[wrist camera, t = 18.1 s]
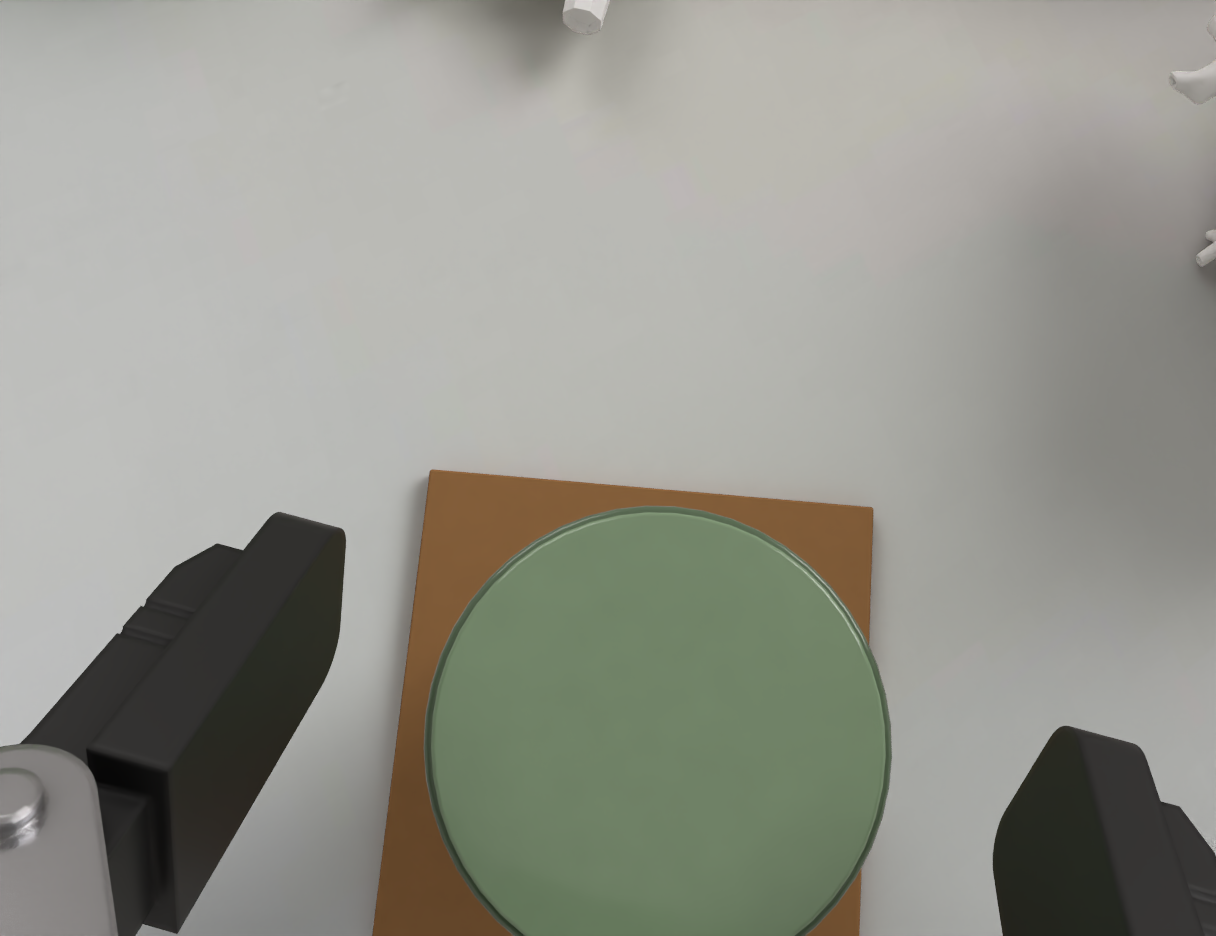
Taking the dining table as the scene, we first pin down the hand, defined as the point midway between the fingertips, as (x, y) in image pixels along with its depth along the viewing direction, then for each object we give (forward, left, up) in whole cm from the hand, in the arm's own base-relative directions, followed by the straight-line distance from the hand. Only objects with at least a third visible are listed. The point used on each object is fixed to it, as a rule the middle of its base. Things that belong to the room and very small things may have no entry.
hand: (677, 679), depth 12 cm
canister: (0, +1, -11) cm, 11 cm away
